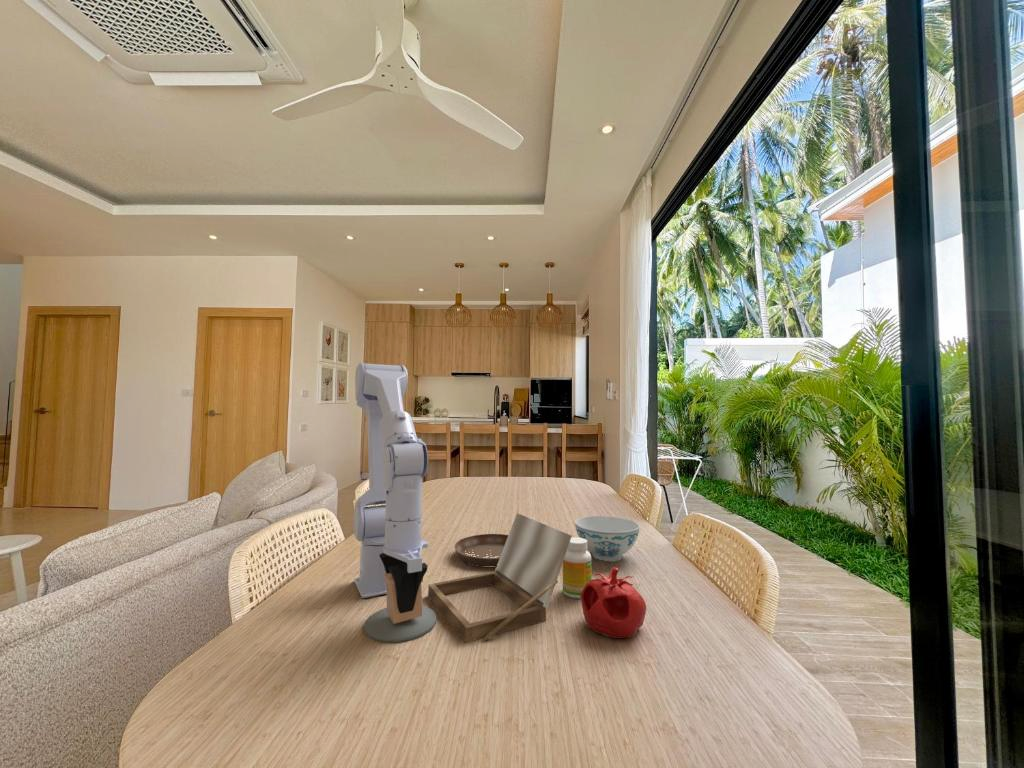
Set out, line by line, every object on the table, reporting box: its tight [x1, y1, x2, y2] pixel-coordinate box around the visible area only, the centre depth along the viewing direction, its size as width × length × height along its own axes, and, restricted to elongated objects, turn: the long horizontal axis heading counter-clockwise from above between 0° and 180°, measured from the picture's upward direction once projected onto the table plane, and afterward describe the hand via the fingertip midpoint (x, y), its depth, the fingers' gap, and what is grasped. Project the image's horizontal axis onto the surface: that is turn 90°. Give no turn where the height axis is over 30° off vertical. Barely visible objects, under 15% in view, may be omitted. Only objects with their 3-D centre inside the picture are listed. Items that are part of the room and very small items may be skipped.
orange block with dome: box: [384, 573, 424, 624], centre depth 67 cm, size 5×5×6 cm
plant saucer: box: [454, 533, 509, 567], centre depth 99 cm, size 18×18×3 cm
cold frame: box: [427, 512, 573, 643], centre depth 74 cm, size 19×19×13 cm
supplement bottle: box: [562, 536, 593, 599], centre depth 79 cm, size 5×5×10 cm
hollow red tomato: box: [580, 567, 647, 639], centre depth 66 cm, size 10×10×9 cm
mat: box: [364, 605, 437, 643], centre depth 67 cm, size 11×11×1 cm
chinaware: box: [574, 515, 641, 562], centre depth 99 cm, size 15×15×8 cm
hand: (401, 604), depth 67 cm, fingers closed on orange block with dome, 5 cm apart
